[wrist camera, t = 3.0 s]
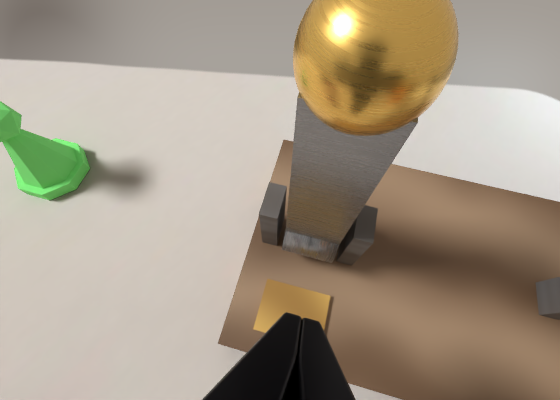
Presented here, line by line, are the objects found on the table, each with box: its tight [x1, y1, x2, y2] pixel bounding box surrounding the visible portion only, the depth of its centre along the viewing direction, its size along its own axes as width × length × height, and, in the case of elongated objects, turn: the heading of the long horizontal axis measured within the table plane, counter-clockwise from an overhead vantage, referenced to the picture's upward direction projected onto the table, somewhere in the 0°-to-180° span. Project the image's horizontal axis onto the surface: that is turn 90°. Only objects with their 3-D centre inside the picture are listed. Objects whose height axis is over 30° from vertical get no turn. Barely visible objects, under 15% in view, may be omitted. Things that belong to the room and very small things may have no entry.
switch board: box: [218, 140, 560, 400], centre depth 15 cm, size 12×20×6 cm, turn 75°
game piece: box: [0, 101, 90, 200], centre depth 17 cm, size 4×4×6 cm
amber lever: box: [282, 0, 458, 263], centre depth 10 cm, size 3×3×12 cm
